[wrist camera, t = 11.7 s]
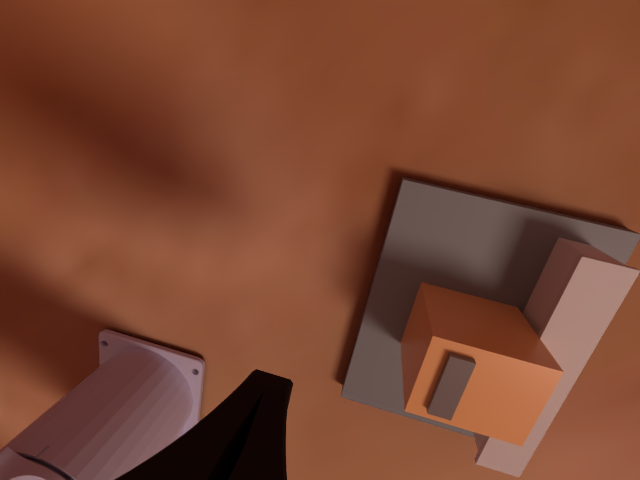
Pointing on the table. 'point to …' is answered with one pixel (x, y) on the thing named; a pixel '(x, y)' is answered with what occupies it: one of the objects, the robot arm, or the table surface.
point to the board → (490, 291)
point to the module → (475, 365)
